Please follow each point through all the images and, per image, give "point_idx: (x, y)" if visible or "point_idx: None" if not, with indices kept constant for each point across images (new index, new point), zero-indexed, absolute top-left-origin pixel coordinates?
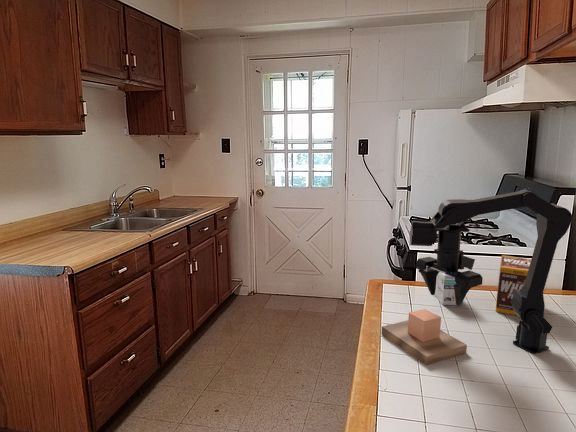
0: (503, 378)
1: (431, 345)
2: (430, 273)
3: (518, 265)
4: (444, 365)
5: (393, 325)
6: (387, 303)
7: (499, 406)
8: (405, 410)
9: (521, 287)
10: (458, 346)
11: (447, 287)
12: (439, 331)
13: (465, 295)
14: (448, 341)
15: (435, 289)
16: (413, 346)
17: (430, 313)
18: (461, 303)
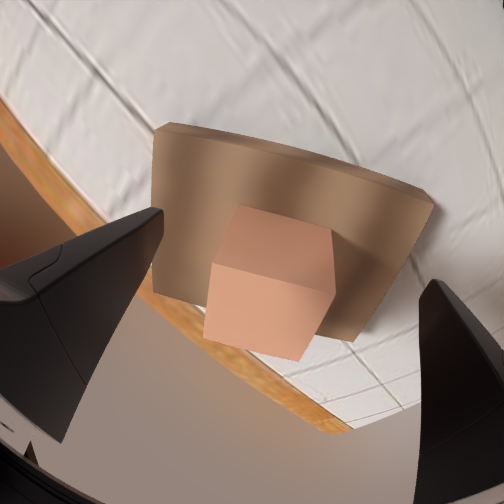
0: None
1: (336, 293)
2: (39, 405)
3: None
4: (390, 297)
5: (162, 264)
6: (17, 96)
7: (497, 332)
8: (372, 407)
9: None
10: (413, 239)
11: None
12: (331, 248)
13: (500, 354)
14: (371, 230)
15: (141, 229)
16: None
17: (269, 292)
18: (454, 296)
